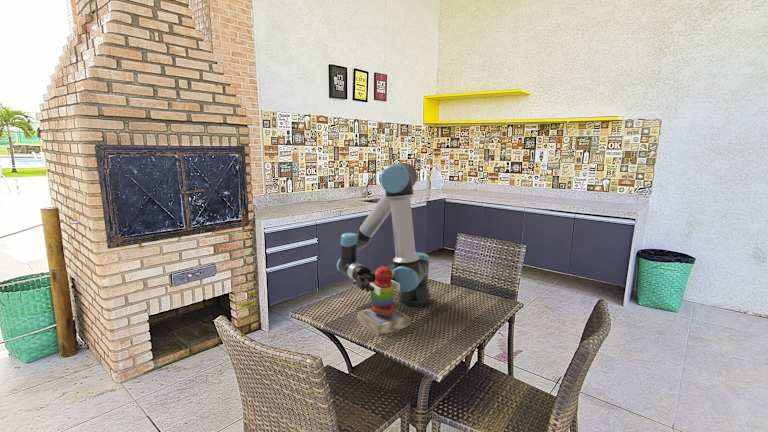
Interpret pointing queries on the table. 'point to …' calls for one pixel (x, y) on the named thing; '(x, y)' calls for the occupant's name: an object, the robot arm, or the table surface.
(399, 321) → the plinth
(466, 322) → the table surface
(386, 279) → the stacking bear
